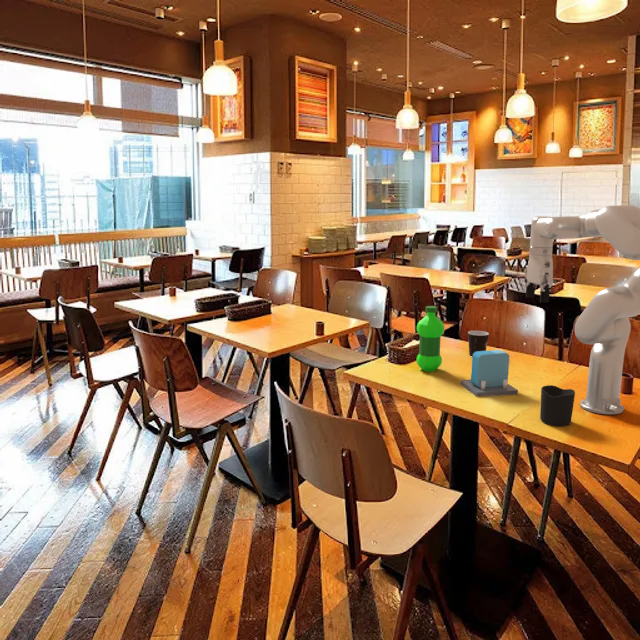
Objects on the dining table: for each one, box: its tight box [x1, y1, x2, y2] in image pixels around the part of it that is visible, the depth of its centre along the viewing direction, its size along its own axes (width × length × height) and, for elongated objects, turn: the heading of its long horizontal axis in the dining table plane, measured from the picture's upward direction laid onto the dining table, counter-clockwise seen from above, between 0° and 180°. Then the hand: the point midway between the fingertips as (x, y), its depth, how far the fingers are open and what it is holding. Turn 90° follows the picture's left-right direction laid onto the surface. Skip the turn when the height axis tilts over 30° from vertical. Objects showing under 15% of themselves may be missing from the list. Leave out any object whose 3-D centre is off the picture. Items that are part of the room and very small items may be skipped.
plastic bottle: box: [415, 305, 445, 373], centre depth 230 cm, size 10×10×25 cm
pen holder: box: [539, 384, 576, 428], centre depth 179 cm, size 9×9×10 cm
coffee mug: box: [467, 330, 490, 357], centre depth 250 cm, size 12×9×10 cm
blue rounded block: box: [470, 349, 510, 388], centre depth 208 cm, size 12×4×12 cm, turn 104°
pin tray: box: [459, 379, 519, 398], centre depth 209 cm, size 14×15×4 cm
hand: (536, 299), depth 212 cm, fingers open, 9 cm apart
